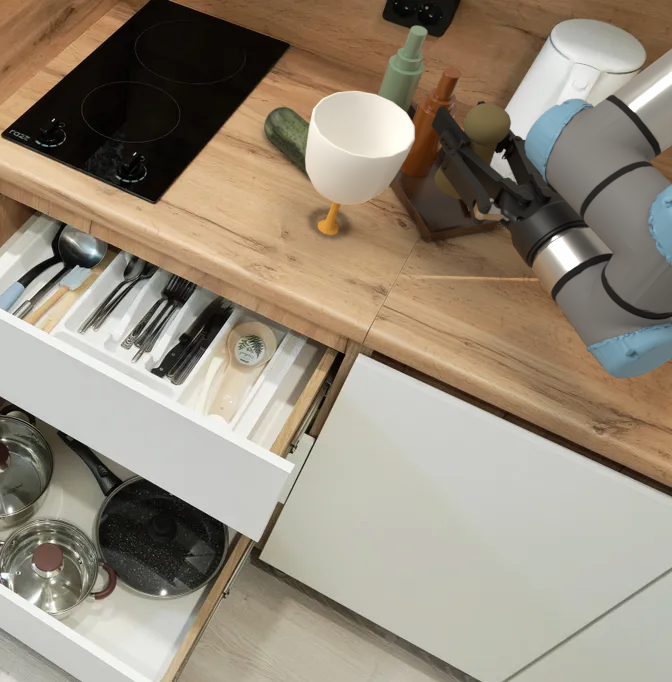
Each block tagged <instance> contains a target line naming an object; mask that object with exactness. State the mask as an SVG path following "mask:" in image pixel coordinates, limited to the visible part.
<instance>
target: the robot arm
mask: <svg viewBox="0 0 672 682" xmlns="http://www.w3.org/2000/svg"><path fill="white" fill-rule="evenodd" d="M479 104H487V103H486V101H484V100H480V101H478V102H477V103H476V106H477V105H479ZM432 127H433V128H434V129H435V131H436V132H437V134H438V135H439V136H440V139H439V142H440V144H441V145H442V146H443V148H444V149H445V151H446V152H447V154H446V156H445V158H444V160H443V162H442V164H441V167H440V169H441V171H442V172H443V174H444V175H445V176H446V178H447V179H448V181H449V182H450V183H451V185H452V186H453V187H454V189H455V190H456V192H457V193H458V194H459V196H460V197H461V199H462V200H463V201H464V203H465V204H466V206H467V208H468V210H469V211H470V213H471V217H472V221H473V222H474V223H475V224H477V225H481V224H482V223H483V222H484V220H496V221H498V223H499V224H498V225H500V226H502V227H503V228H504V229H506V230H507V231H508V232H509V234H510V236H511V238H510V239H511V243H512V246H513V247H514V249H515V250H516V251H517V253H518V255H519V256H520V257H521V259H522V260H523V261H524V263H525V264H526V265H527V266H528V267H529V268H531V270H532V273H533V274H534V276H535V277H536V279H537V280H538V281H539V283H540V284H541V285H542V287H543V288H544V290H546V292H547V293H548V295H549V296H550V298H551V299H552V301H553V302H554V303H555V305H556V306H557V307H558V308H559V310H560V311H561V313H562V314H563V316H564V317H565V318H566V320H567V321H568V322H569V324H570V326H571V327H572V329H573V330H574V332H575V333H576V335H577V336H578V337H579V339H580V340H581V341H582V343H583V344H584V346H585V349H586V351H587V352H589V353H590V354H591V355H592V356H593V358H594V359H595V360H596V361H597V362H598V363H599V365H600V366H601V367H602V368H603V369H604V370H605V372H606V373H607V374H608V375H610V376H611V377H614V378H616V379H632V378H635V377H640V376H643V375H645V374H647V373H650V372H652V371H654V370H656V369H658V368H659V367H661V366H663V365H664V364H666V363H667V362H669V361H670V360H671V359H672V182H671V181H670V180H669V179H667V178H666V177H665V175H663V174H662V173H661V172H660V171H659V170H658V169H657V167H655V165H653V164H652V163H651V162H652V161H653V160H654V159H655V158H657V157H658V156H660V155H661V154H662V153H663V152H664V151H666V150H667V149H669V148H670V147H671V146H672V48H670V50H668V51H666V52H665V53H664V54H663V55H662V56H660V57H659V58H658V59H656V60H655V61H653V62H652V63H651V64H650V65H648V66H647V67H646V68H644V69H643V70H641V71H640V72H639V73H638V74H636V75H635V76H634V77H633V78H632V79H630V80H629V81H628V82H625V84H623V85H622V86H621V87H619V88H618V89H617V90H615V91H614V92H613V93H612V94H610V95H608V96H607V97H606V98H604V99H603V100H602V101H600V102H598V103H597V104H596V105H595V106H594V105H593V104H592V103H589V102H588V101H586V100H584V99H583V98H582V99H581V98H569V99H566V100H564V101H562V103H561V104H555V105H554V106H552V107H550V108H548V109H547V110H545V112H544V113H543V114H541V115H540V116H539V117H538V118H537V120H535V122H534V123H533V124H532V126H531V127H530V129H529V130H528V132H527V134H526V136H525V139H523V138H522V137H521V135H516V134H515V133H514V131H512V129H511V128H510V130H509V133H508V134H507V136H506V137H505V138H504V139H503V140H502V141H501V142H499V143H498V144H497V147H496V149H495V152H494V153H495V154H502V153H503V151H504V153H503V154H502V157H501V160H506V161H507V164H508V166H509V168H510V171H511V173H512V175H513V178H514V180H515V181H514V180H513V179H512V178H511V177H504V176H502V175H501V174H500V173H499V172H498V171H496V169H495V168H493V167H492V166H491V164H490V165H488V164H487V163H486V162H485V161H484V160H483V159H482V158H480V157H479V156H478V155H477V154H476V153H475V152H474V151H472V150H471V149H470V148H469V147H468V146H469V144H470V142H471V141H470V139H469V138H468V137H467V136H466V134H465V133H464V129H462V128H461V126H460V124H458V122H457V121H456V119H455V118H454V119H453V117H452V116H451V115H450V113H449V112H448V111H447V109H446V108H445V107H439V108H438V111H437V113H436V115H435V118H434V120H433V122H432Z"/></svg>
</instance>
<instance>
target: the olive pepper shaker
mask: <svg viewBox="0 0 672 682" xmlns="http://www.w3.org/2000/svg"><path fill="white" fill-rule="evenodd" d="M511 125H512V120H511V116H510V114H509V113H508V111H506V110H505V109H503V108H502V107H501V106H498V105H497V104H492V103H486V104H479V105H477V104H476V105H474V106H473V107H472V108H471V109H470V110H469V111H467V113H466V115H465V118H464V121H463V126H462V127H463V132H464V133H465V134H466V136H467V137H468V138H469V139H470V141H471V142H470V144H469V146H468V147H469V148H470V149H471V150H472V151H474V152H475V153H476V154H477V155H478V156H479V157H480V158H482V159H483V160H484V161H485V162H486V163H487V164H488V165H490V166H491V164H492V162H493V158H494V155H495V153H496V152H495V149H496V147H497V144H498V143H499V142H501V141H502V140H503V139H504V138H505V137H506V136H507V134H508V133H509V130H510V129H511ZM440 167H441V166H440ZM434 179H435V184H436V185H437V187H438V188H439V189H440V190H441V191H442V192H443V193H445V194H447V195H448V196H450V197H453V198H456V199H461V197H460V196H459V194H458V193H457V192H456V190H455V189H454V187H453V186H452V185H451V183H450V182H449V181H448V179H447V178H446V176H445V175H444V174H443V172H442V171H441V169H440V168H439V169H438V171H437V172H436V174H435V177H434Z"/></svg>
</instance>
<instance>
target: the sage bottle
mask: <svg viewBox="0 0 672 682" xmlns="http://www.w3.org/2000/svg"><path fill="white" fill-rule="evenodd" d="M427 36H428V29H426V27H424V26H421V25H413V26H411V27H410V30H409V32H408V35H407V38H406V41H405V44H404V46H402V47H400V48H398V50H397V52H396V53H395V54H393V55H391V56H390V57H389V60H388V62H387V65H386V68H385V71H384V74H383V76H382V78H381V79H382V80H381V83H380V85H379V88H378V91H377V94H376V95H378V96H380V97H383V98H385V99H387V100H390V101H392V102H394V103H395V104H396V105H397V106H399V107H400V108H401V109H402V110H404V111H405V112H406V113H408V110H409V107H410V105H411V102H412V101H413V99H414V97H415V95H416V92H417V90H418V86H419V85H420V81H421V79H422V78H423V77H422V76H423V73H424V72H425V68H426V67H425V64H424V62H423V59H424V54H423V52H422V49H423V47H424V43H425V41H426V38H427Z"/></svg>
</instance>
